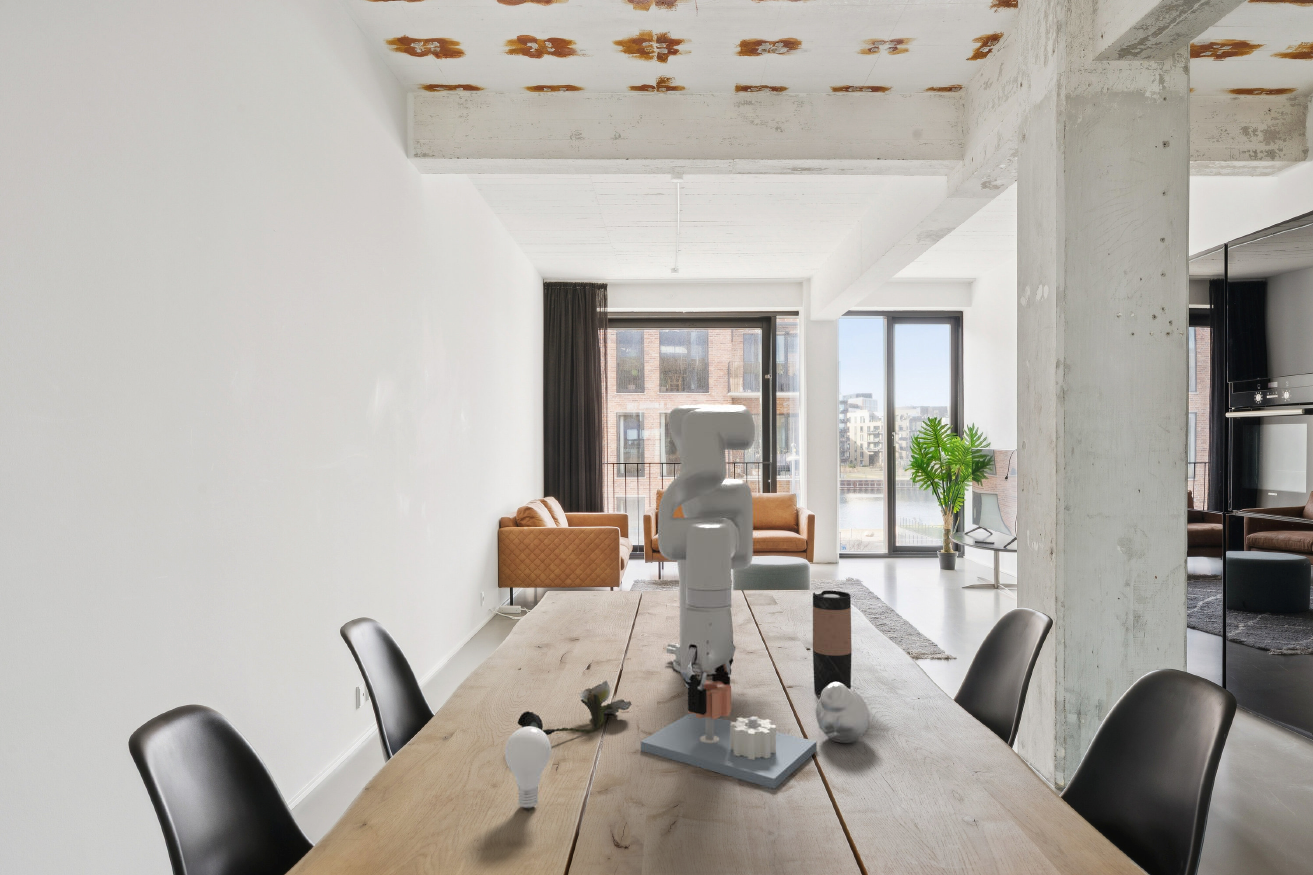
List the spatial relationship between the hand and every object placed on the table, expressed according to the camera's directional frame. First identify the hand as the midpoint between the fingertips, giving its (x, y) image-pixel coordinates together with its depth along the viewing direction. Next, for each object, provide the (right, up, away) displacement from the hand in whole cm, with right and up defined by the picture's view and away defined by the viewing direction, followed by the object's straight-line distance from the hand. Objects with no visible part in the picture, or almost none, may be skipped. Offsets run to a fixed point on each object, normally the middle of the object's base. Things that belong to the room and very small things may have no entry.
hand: (709, 704), depth 120 cm
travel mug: (+27, -8, +27) cm, 38 cm away
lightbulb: (-27, -7, -19) cm, 34 cm away
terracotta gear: (0, -1, 0) cm, 1 cm away
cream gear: (+7, -6, -4) cm, 10 cm away
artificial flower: (-23, -8, +7) cm, 26 cm away
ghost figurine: (+23, -7, +3) cm, 24 cm away
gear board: (+3, -7, -1) cm, 8 cm away
